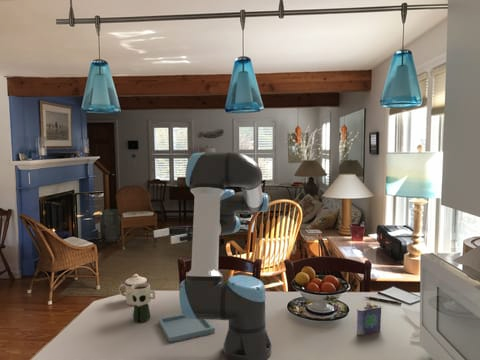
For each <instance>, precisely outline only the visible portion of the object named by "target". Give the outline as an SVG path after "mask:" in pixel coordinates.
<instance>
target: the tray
mask: <svg viewBox="0 0 480 360" xmlns="http://www.w3.org/2000/svg"><path fill="white" fill-rule="evenodd" d="M158 324H159V327H160V329H161V330H162V332H163V334H164V337H166V339H167V341H168V343H169V344H171V343H176V342H180V341H185V340H189V339H193V338H199V337H204V336H207V335H210V334H212V335H213V334H215V333H216V331H215V330H216V329H215V327H214V325H213V324H212V323H211V322H210V320H208V319H200V320H197V319H189V318H186V317H185V316H184V315H183V313H180V314H176V315H169V316H164V317H160V318H158Z"/></svg>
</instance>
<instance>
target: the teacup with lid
mask: <svg viewBox="0 0 480 360" xmlns="http://www.w3.org/2000/svg"><path fill="white" fill-rule="evenodd" d="M138 283H148V280H147V278H146V277H143V276H140V275H139V274H138V273H135V274H133V275H132V276H131V277H129V278H127V279H125V282H124V283H123V284H120V285H119V287H118V292H119V294H120V295H121V296H122V297H125V302H126V304H127V305H129V306H135V305H134V304H133V303H132V302H131V299H127V291H128V290H131V286H132V285H134V284H138ZM122 287H125V293H124V292H123V291H122ZM129 296H131V293H129Z"/></svg>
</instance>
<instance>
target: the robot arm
mask: <svg viewBox="0 0 480 360" xmlns="http://www.w3.org/2000/svg"><path fill="white" fill-rule="evenodd" d="M185 167H186V168H185V176H184V177H185V183H186V186H187V187H189V188H190V189H189V190H190V193H191V194H193V197H194V205H193V221H192V222H193V224H192V225H189V224H188V225H180V226H166V228H162V229H156V230H153V237H154V238H159V237H161V238H162V237H166V236H167V237H169V236H170V235H171V236H170V245H172V244H173V245H174V244H178V243H183V242H184V243H185V242H190V241H191V242H192V247H191V248H192V249H191V268H190V270H189V271H188V272H187V273H186V274H185V279H184V280H182V281H181V282H180V284H179V293H178V298H179V305H180V310H181V312H182V313H181V314H183V315H184V316H185V317H186V318H189V319H197V320H200V319H207V320H208V321H210V320H212V321H213V320H214V321H217V320H218V321H228V330H227V332H226V336H225V339H224V342H223V355H224V357H225V358H226V359H228V360H267V359H268V358H270V357H271V355H272V342H271V339H270V336H269V333H268V330H267V326H266V324H267V323H266V322H267V321H266V320H267V319H266V300H267V296H266V287H265V284H264V283H263V281H261V280H260V279H258V278H256V277H254V276H250V275H244V274H237V275H231V276H229V278H228V280H227V281H223V274H222V273H221V272H220V270H219V252H220V251H219V250H220V248H219V245H220V244H219V243H220V236H224V235H232V234H235V233H237V232H238V231H240V228H241V221H240V218H239V217H238V216H237V215H235V214H236V212H237V213H238V212H243V213H245V212H246V213H248V212H249V213H261V212H262V213H266V212H267V211H269V196H268V194H263V189H262V182H263V172H262V169H261V167H260V166H259V164H258V163H257V162H256V161H255V160H253V159H252V158H251V157H250V156H247V155H246V154H243V153H240V152H237V151H231V152H227V151H226V152H222V151H221V152H220V151H219V152H218V151H215V152H214V151H213V152H211V151H209V152H207V151H203V152H194V153H192V154H191V155H190V156H189V158H188V160H187V164H186V166H185ZM227 187H228V188H230V187H239V188H240V189H241V192H242V194H241V193H240V194H239V193H237V194H236V193H235V190H234V189H227ZM172 235H173V236H172Z"/></svg>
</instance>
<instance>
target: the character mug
mask: <svg viewBox="0 0 480 360" xmlns="http://www.w3.org/2000/svg"><path fill="white" fill-rule="evenodd" d="M129 293H131V296H129ZM151 294H152V296H151ZM127 299H131V302H132V303H133V304H134V305H133V306H134V307H133V317H132V320H133V321H134V322H146V321H148V320H149V319H150V318H151V311H150V307H149V303H151V300H155V299H156V291H155V290H151V284H150V283H148V282H147V283H138V284H134V285H132V286H131V290H128V291H127Z"/></svg>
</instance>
